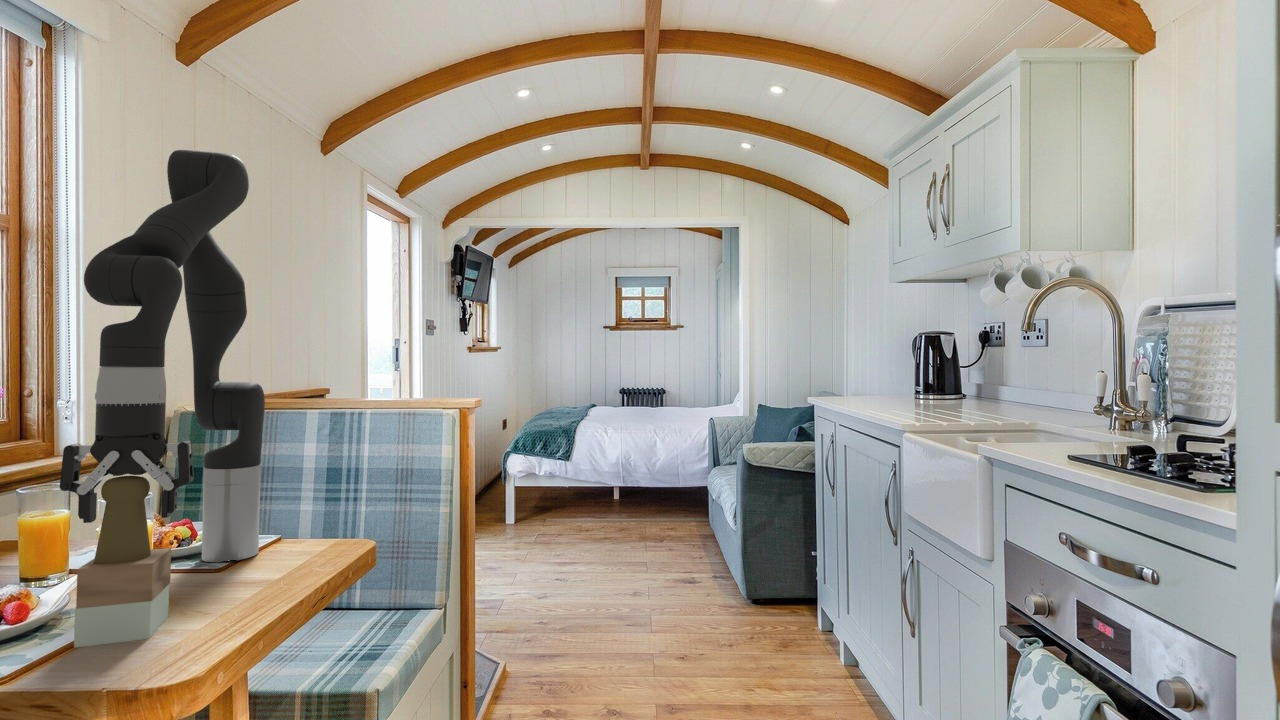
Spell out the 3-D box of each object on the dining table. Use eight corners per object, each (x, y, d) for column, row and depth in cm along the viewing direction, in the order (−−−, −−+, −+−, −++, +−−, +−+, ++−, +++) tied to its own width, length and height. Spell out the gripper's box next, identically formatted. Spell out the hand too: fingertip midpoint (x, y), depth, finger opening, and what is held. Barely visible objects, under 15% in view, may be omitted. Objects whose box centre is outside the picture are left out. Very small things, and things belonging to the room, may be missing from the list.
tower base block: (99, 625, 90) (100, 589, 90) (168, 617, 93) (169, 582, 93) (73, 648, 82) (75, 608, 82) (149, 639, 85) (150, 601, 85)
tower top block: (101, 589, 90) (102, 553, 90) (170, 582, 93) (171, 547, 93) (76, 608, 82) (77, 569, 83) (151, 601, 85) (152, 563, 86)
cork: (116, 566, 84) (120, 481, 84) (82, 561, 86) (86, 478, 86) (161, 553, 90) (165, 474, 90) (129, 549, 91) (132, 472, 92)
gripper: (200, 399, 94) (197, 510, 94) (77, 399, 89) (74, 517, 89) (186, 401, 88) (183, 521, 87) (53, 402, 82) (49, 529, 82)
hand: (128, 519), depth 88 cm, fingers open, 8 cm apart
